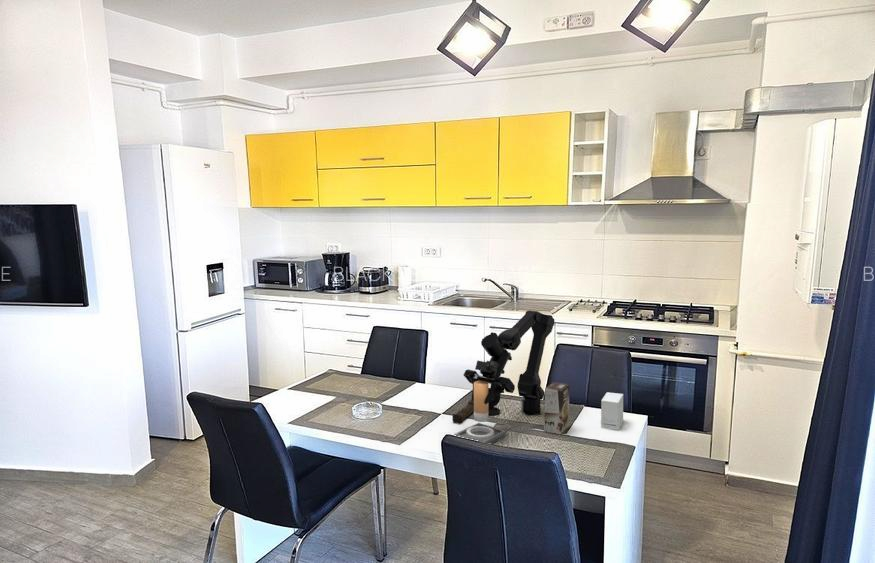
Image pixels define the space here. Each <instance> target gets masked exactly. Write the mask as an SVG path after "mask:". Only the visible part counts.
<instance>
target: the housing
mask: <svg viewBox="0 0 875 563" xmlns="http://www.w3.org/2000/svg"><path fill="white" fill-rule="evenodd" d="M454 435H456V436H460V437H464V438H468V439H473V440H478V441H481V442H485V443H491V445H493V444H494V443H496V442H498V441H500V440H502V439H504V438H505V436H507V430H504V429H500V428H497V427H496V426H495V427H494V426H491V425H488V424H485V423H482V422H477V423H475V424H472V425H471V426H468V427H467V428H465V429H462V430H460V431H459V432H455V433H454V434H453V436H454ZM503 437H504V438H503ZM501 438H502V439H501ZM499 439H500V440H499ZM497 440H498V441H497ZM495 441H496V442H495Z"/></svg>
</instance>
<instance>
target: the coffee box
mask: <svg viewBox="0 0 875 563" xmlns="http://www.w3.org/2000/svg"><path fill="white" fill-rule="evenodd" d="M544 392H545V394H544V415H543V417H544V420H543V422H544V423H543V425H544V426H543V427H544V428H543V431H544V432H546V431H547V432H548V433H552V434H555V433H556V435H561V434H562V433H564V431H566V430H567V429H568V428H569V427H570V425H569V424H570V423H569V422H570V383H564V382H555V381H553V382H551V384H549V385H547V386H546V387H544Z"/></svg>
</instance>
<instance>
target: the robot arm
mask: <svg viewBox="0 0 875 563" xmlns="http://www.w3.org/2000/svg"><path fill="white" fill-rule="evenodd" d="M555 323H556V322H555V318H554V317H553V315H552V314H545V313H541V312H540V311H538V310H531V309H529V310H526V311H525V313H524V315H523V316H522V317H521V318H520V319H519V320H518V321H517V322H516V323H515V324H514V325H513V326H512V327H511V328H508V329H505V330H503V331H501V332H500V333H499V334H497V332H492V331H491V332H490V334H487V335H486V336H484V337H483V338H482V339H481V341H480V342H481V343H480V344H481V346H482V348H483V349H484V350H485V352H486V353H487V354H488V356H490V359H489V360H486V361H483V360H477V361H476V365H475V368H474V369H475V370H473V369H466V370H464V373H463V377H464V378H465V379H466V380H467V381H468V383H469V384H471V385H472V390H471V391H472V392H471V400H472V401H474V382H475V381H486V382H488V384H490V387H489V388H490V390H489V392H488V395H487V397H486V399H485V401H484V403H485V404H487V403H489V402H490V401H491V400H492V399H494V398H495V397H497V396H498V395H500V396H501V394H504V393H505V392H506V393H510V394H513V393H514V392H515V389H516V386H515V384H514V382H513V381H512V380H511V378H509V377H504V376H501V375H504V374H505V367H506V366H507V363H508V361H512V360H513V359H512V358H513V356H512V354H511V352H509V351H516V350H517V349H518V347H519V346H520V345H521V343H522V338H523V336H524V335H525V334H526V333H527V332H528V331H529V330H530V329H531V330H532V334H533V336H532V341H531V346H530V350H529V354H528V361H527V363H526V364H527V365H526V368H525V371H524V372H523V373H520V374H519V377H518V381H517V391H518V396H519V397H522V399H521V401H520V402H521V407H520V408H521V411H522V412H523V414H524V415H525V416H530V415H531V416H532V415H533V416H535V415H542V411H541V401H542V400H544V399H545V389H543V388H542V386H541V385H542V380H541V377H540V375H539V372H540V367H541V365H542V364H541V363H542V358H543V354H544V349H545V346H546V340H547V338H548V337H549V336H550V335H551V333H552V331H553V329H554V326H555ZM508 350H509V351H508ZM476 370H477V371H479V373H478V372H477V371H476ZM479 374H480V375H479Z"/></svg>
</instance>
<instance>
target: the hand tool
mask: <svg viewBox="0 0 875 563" xmlns="http://www.w3.org/2000/svg"><path fill="white" fill-rule="evenodd" d="M471 414H474V401H472V399H471V400H469V401H468V402H467V404H466V406H464V407H463V408H462V409H460V410H459V411H458V412H456V413H453V415H452V422H453V423H454V424H457V425H459V424H460V425H461V424H462V423H463V422H464V420H465V419H466V418H468V417H469V416H470V415H471Z"/></svg>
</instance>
